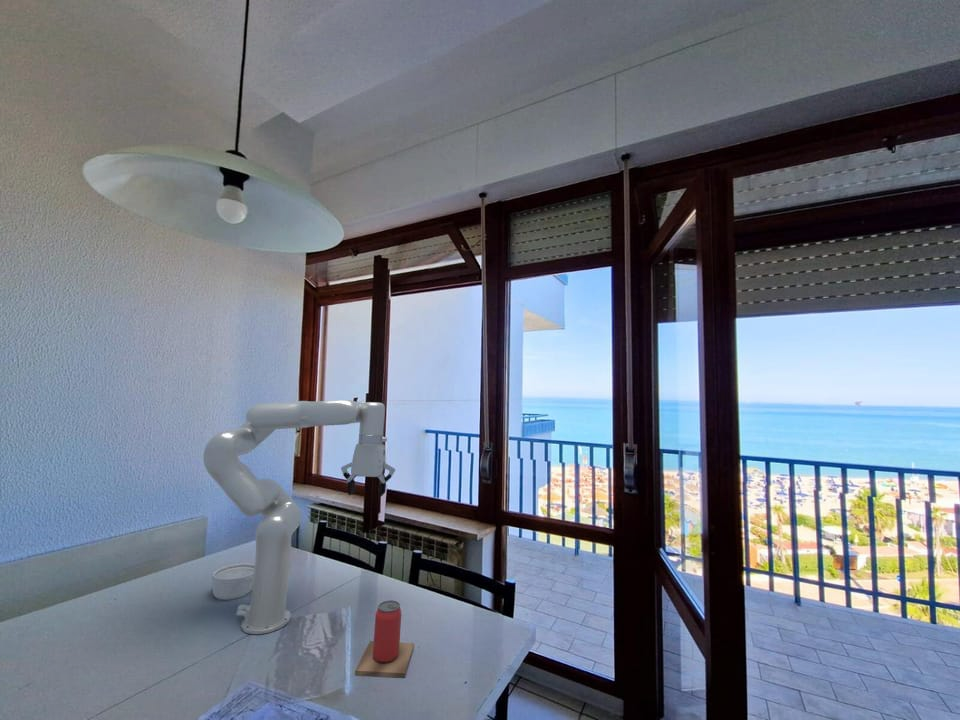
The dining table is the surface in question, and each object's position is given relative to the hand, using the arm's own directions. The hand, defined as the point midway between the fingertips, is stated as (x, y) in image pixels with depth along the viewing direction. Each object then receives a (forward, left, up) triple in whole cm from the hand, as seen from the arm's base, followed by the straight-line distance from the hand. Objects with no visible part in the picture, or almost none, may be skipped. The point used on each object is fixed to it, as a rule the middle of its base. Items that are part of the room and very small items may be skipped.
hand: (366, 494), depth 121 cm
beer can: (+14, -19, -36) cm, 43 cm away
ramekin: (-46, +12, -37) cm, 60 cm away
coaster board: (+14, -19, -36) cm, 43 cm away
